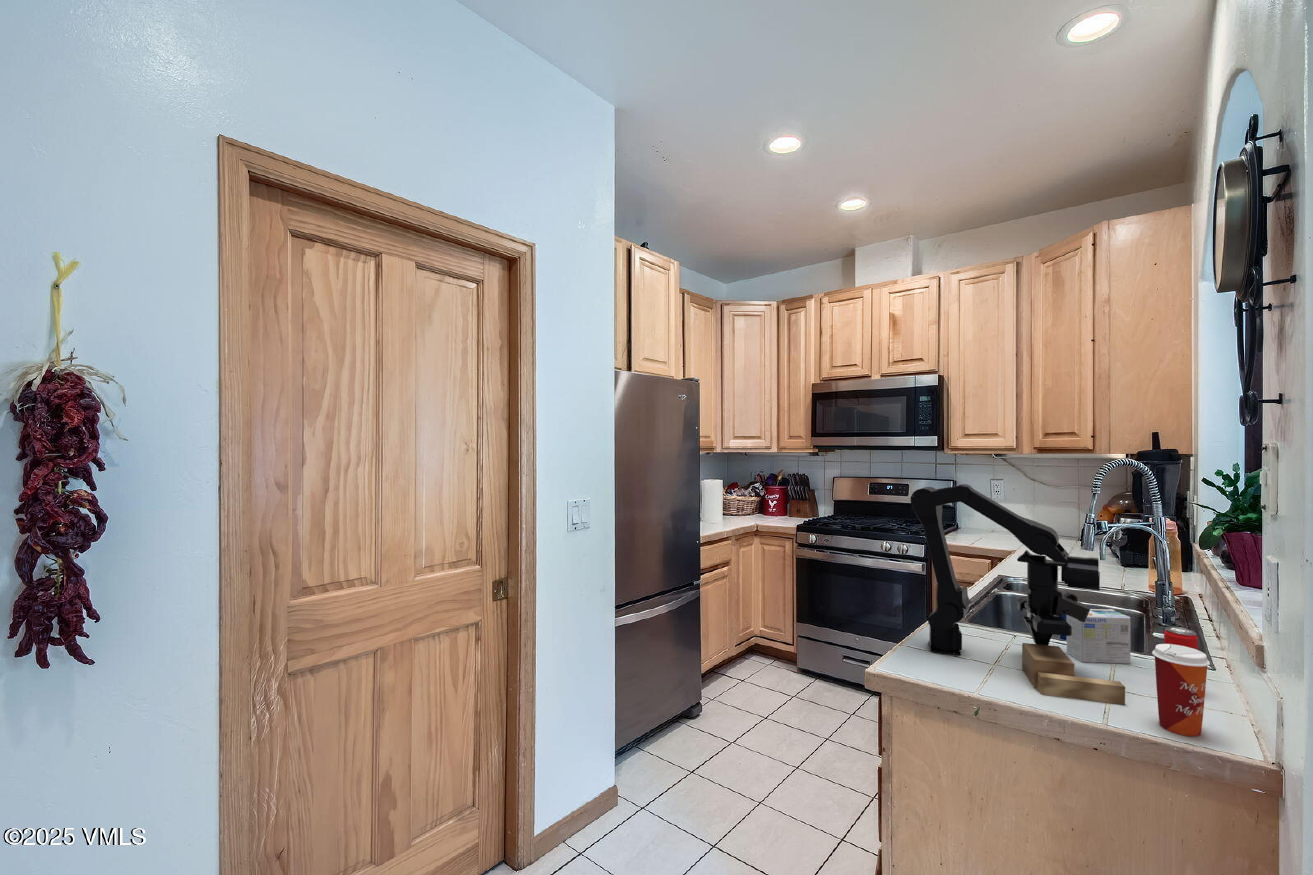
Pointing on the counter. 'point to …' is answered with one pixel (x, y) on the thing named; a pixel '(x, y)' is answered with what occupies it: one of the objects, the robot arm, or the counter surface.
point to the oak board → (1081, 688)
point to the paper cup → (1180, 688)
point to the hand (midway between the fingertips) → (1041, 653)
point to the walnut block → (1044, 661)
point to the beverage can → (1181, 637)
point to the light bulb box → (1100, 637)
